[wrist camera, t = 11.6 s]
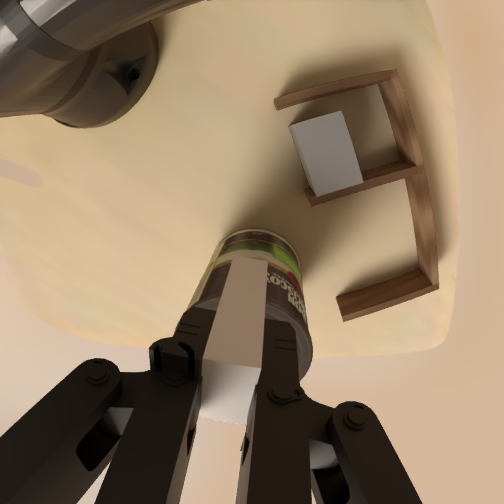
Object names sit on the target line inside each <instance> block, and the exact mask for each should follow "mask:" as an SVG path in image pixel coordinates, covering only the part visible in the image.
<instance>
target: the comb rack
mask: <svg viewBox="0 0 504 504" xmlns="http://www.w3.org/2000/svg"><path fill="white" fill-rule="evenodd" d="M375 84H378V86H379V89H380V92H381V95H382V98H383V101H384V104H385V107H386V110H387V113H388V116H389V119H390V123H391V126H392V130H393V133H394V137H395V140H396V144H397V148H398V152H399V156H400V160H401V161H400V162H396V163H392V164H389V165H385V166H382V167H378V168H375V169H371V170H368V171H364V172H361V175H362V179H363V183H361V184H357V185H354V186H351V187H347V188H344V189H341V190H337V191H334V192H331V193H328V194H324V195H321V196H318V197H317V196H316V194H315V193H314V191H313V190H312V188H308V189H305V192H306V196H307V198H308V200H309V202H310V204H311V206H314V205H317V204H320V203H323V202H327V201H330V200H333V199H336V198H340V197H343V196H346V195H350V194H353V193H356V192H359V191H363V190H366V189H369V188H373V187H376V186H379V185H383V184H386V183H390V182H393V181H397V180H400V179H403V178H405V181H406V186H407V191H408V196H409V201H410V207H411V212H412V218H413V224H414V231H415V238H416V245H417V253H418V262H419V270H417V271H414V272H411V273H408V274H405V275H403V276H400V277H397V278H394V279H391V280H388V281H385V282H382V283H379V284H376V285H373V286H370V287H367V288H364V289H361V290H358V291H354V292H351V293H348V294H345V295H342V296H338V297H336V299H337V303H338V306H339V310H340V313H341V316H342V319H343V322H345V321H348V320H352V319H355V318H358V317H361V316H364V315H367V314H371V313H374V312H377V311H380V310H383V309H386V308H388V307H391V306H394V305H397V304H400V303H403V302H406V301H408V300H411V299H414V298H416V297H419V296H422V295H424V294H427V293H430V292H432V291H435V290H437V289H439V275H438V259H437V247H436V237H435V229H434V220H433V213H432V206H431V200H430V194H429V188H428V183H427V177H426V172H425V167H424V163H423V158H422V154H421V149H420V145H419V141H418V137H417V133H416V130H415V126H414V122H413V119H412V115H411V112H410V109H409V105H408V102H407V99H406V96H405V93H404V90H403V87H402V84H401V81H400V78H399V76H398V73H397V70H396V69H394V70H388V71H382V72H377V73H371V74H366V75H361V76H357V77H352V78H348V79H343V80H339V81H335V82H331V83H327V84H323V85H319V86H315V87H312V88H308V89H305V90H301V91H298V92H294V93H291V94H288V95H284V96H281V97H278V98H275V99H274V105H275V107H276V110H280V109H283V108H286V107H290V106H293V105H296V104H299V103H303V102H306V101H310V100H313V99H317V98H321V97H324V96H328V95H332V94H336V93H340V92H344V91H348V90H352V89H357V88H361V87H366V86H370V85H375Z"/></svg>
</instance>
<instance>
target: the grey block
mask: <svg viewBox="0 0 504 504" xmlns="http://www.w3.org/2000/svg"><path fill="white" fill-rule="evenodd" d="M288 127H289V129H290V132H291V135H292V138H293V141H294V143H295V146H296V149H297V152H298V155H299V158H300V161H301V164H302V167H303V169H304V172H305V176H306V179H307V182H308V183H309V185H310V187H311V188H312V190H313V191H314V193H315V194H316V196H317V197H318V196H321V195H324V194H328V193H331V192H334V191H337V190H341V189H344V188H347V187H351V186H354V185H357V184H361V183H363V179H362V175H361V171H360V168H359V164H358V161H357V157H356V154H355V151H354V147H353V144H352V141H351V138H350V135H349V132H348V128H347V125H346V122H345V119H344V117H343V114H342V111H338V112H334V113H330V114H327V115H323V116H319V117H316V118H313V119H309V120H306V121H302V122H299V123H296V124H293V125H291V126H288Z"/></svg>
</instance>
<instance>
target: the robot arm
mask: <svg viewBox="0 0 504 504" xmlns="http://www.w3.org/2000/svg"><path fill="white" fill-rule="evenodd" d="M200 1H204V0H0V118H1V117H10V116H20V115H32V114H43V115H45V116H48V117H52V118H53V119H54V120H56V121H57V122H59V123H61V124H63V125H65V126H68V127H72V128H94V127H100V126H104V125H107V124H109V123H111V122H113V121H115V120H117V119H119V118H120V117H122V116H123V115H124V114H126V113H127V112H128V111H129V110H130V109H131V108H132V107H133V106H134V105H135V104H136V103H137V102H138V101H139V99H140V98H141V97H142V95H143V94H144V92H145V91H146V89H147V87H148V85H149V83H150V81H151V79H152V77H153V74H154V71H155V68H156V64H157V58H158V42H157V37H156V33H155V31H154V28H153V27H152V25H151V23H150V22H149V21H150V20H152V19H155V18H157V17H159V16H162V15H164V14H167V13H169V12H171V11H174V10H177V9H180V8H182V7H185V6H188V5H191V4H194V3H197V2H200ZM207 1H211V0H207ZM267 268H268V261H265V260H259V259H253V258H247V257H241V256H236V255H234V257H233V260H232V263H231V267H230V270H229V273H228V276H227V279H226V283H225V286H224V289H223V292H222V296H221V299H220V302H219V305H218V309H217V311H215V310H209V309H204V308H199V307H194V306H193V307H191V308H190V309H188V310H187V311H186V312H184V313H183V315H182V318H181V320H180V322H179V324H178V326H177V329H176V332H175V333H174V335H173V337H169V338H163V339H160V340H158V341H156V342H154V343H153V344H152V345H151V346H150V347H149V358H150V369H151V370H148V371H145V372H120V371H119V369H118V366H116V365H115V364H114V363H113V362H111V361H109V360H106V359H101V358H94V359H90V360H86V361H85V362H83V363H81V364H80V365H79V366H78V367H76V368H75V369H74V370H73V371H72V372H71V373H70V374H69V375H68V376H66V377H65V378H64V379H63V380H62V381H61V382H60V383H59V384H57V385H56V386H55V387H54V388H53V389H52V390H51V391H50V392H49V393H47V394H46V395H45V396H44V397H43V398H42V399H41V400H40V401H39V402H38V403H36V404H35V405H34V406H33V407H32V408H31V409H30V410H29V411H28V412H27V413H26V414H25V415H23V416H22V417H21V418H20V419H19V420H18V421H17V422H16V423H15V424H14V425H13V426H12V427H11V428H9V430H7V431H6V432H5V433H4V434H3V435H2V436H1V437H0V504H77V502H78V501H79V500H80V499H81V498H82V496H83V495H84V494H85V493H86V491H87V490H88V489H89V488H90V486H91V485H92V484H93V483H94V481H95V480H96V479H97V478H98V476H99V475H100V474H101V473H102V471H103V470H104V469H105V468H106V466H107V465H108V464H109V462H110V461H111V463H110V465H109V468H108V470H107V473H106V475H105V478H104V480H103V483H102V485H101V488H100V490H99V493H98V496H97V498H96V501H95V503H94V504H179V502H180V497H181V493H182V489H183V484H184V480H185V476H186V471H187V467H188V463H189V459H190V455H191V451H192V446H193V442H194V438H195V434H196V422H197V419H198V415H199V417H201V418H207V419H211V420H217V421H222V422H228V423H235V424H241V425H246V424H247V425H246V433H245V436H244V439H243V443H242V446H241V450H240V451H242V456H241V464H240V472H239V481H238V489H237V496H236V504H312V497H311V488H312V491H313V494H314V497H315V501H316V504H422V502H421V500H420V498H419V496H418V494H417V492H416V490H415V488H414V486H413V484H412V482H411V480H410V478H409V476H408V474H407V472H406V471H405V469H404V467H403V465H402V463H401V461H400V459H399V457H398V455H397V453H396V452H395V450H394V448H393V446H392V444H391V442H390V440H389V438H388V436H387V435H386V433H385V431H384V429H383V427H382V425H381V423H380V422H379V420H378V418H377V416H376V415H375V413H374V412H373V411H372V410H371V408H369V407H368V406H366V405H364V404H362V403H359V402H356V401H346V402H344V403H341V404H339V405H338V406H337V407H336V408H332V407H329V406H326V405H323V404H320V403H318V402H316V401H313V400H312V399H311V398H309V397H308V396H307V395H306V394H305V392H304V390H303V389H302V388H301V386H300V383H299V369H298V355H297V343H296V342H297V341H296V331H295V330H294V328H293V327H292V325H291V324H290V322H286V321H279V320H273V319H267V318H265V303H266V286H267Z"/></svg>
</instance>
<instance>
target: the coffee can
mask: <svg viewBox="0 0 504 504" xmlns="http://www.w3.org/2000/svg"><path fill="white" fill-rule="evenodd" d="M234 255H236V256H241V257H247V258H253V259H259V260H265V261H268V268H267V286H266V303H265V318H267V319H273V320H279V321H286V322H290V324H291V325H292V327H293V328H294V330H295V331H296V341H297V342H296V343H297V355H298V369H299V382H300V380H301V379H302V378H303V377H304V376H305V375H306V373H307V371H308V369H309V367H310V364H311V361H312V357H313V346H312V340H311V336H310V333H309V330H308V324H307V315H306V308H305V302H304V295H303V288H302V281H301V273H300V263H299V259H298V256H297V254H296V252H295V250H294V249H293V247H292V246H291V245H290V244H289V243H288V242H287V241H286V240H285V239H284V238H282V237H281V236H279V235H277V234H275V233H273V232H270V231H267V230H263V229H245V230H241V231H238V232H235V233H233V234H231V235H229V236H228V237H226V238H225V239H223V240H222V241H221V242H220V243H219V245H218V246H217V247H216V249H215V251H214V253H213V255H212V258H211V260H210V262H209V264H208V266H207V268H206V270H205V272H204V274H203V276H202V278H201V280H200V283H199V285H198V287H197V289H196V291H195V293H194V295H193V297H192V299H191V301H190V303H189V305H188V308H187V310H188V309H190V308H191V307H193V306H194V307H199V308H204V309H209V310H215V311H217V309H218V305H219V302H220V299H221V296H222V292H223V289H224V286H225V283H226V279H227V276H228V273H229V270H230V267H231V263H232V260H233V257H234ZM187 310H186V311H187ZM181 318H182V317H181ZM180 320H181V319H180ZM180 320H179V322H180ZM179 322H178V324H179ZM178 324H177V326H178ZM177 326H176V329H177ZM176 329H175V332H176ZM175 332H174V333H175Z"/></svg>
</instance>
